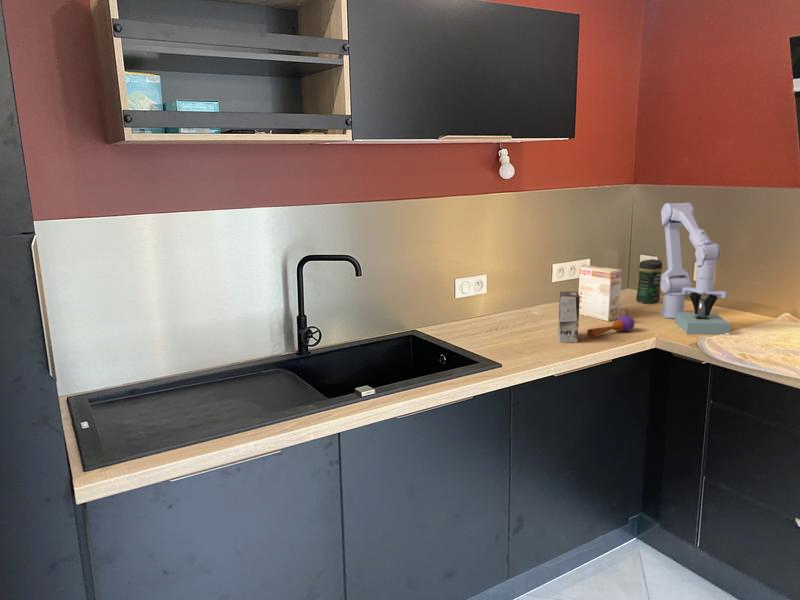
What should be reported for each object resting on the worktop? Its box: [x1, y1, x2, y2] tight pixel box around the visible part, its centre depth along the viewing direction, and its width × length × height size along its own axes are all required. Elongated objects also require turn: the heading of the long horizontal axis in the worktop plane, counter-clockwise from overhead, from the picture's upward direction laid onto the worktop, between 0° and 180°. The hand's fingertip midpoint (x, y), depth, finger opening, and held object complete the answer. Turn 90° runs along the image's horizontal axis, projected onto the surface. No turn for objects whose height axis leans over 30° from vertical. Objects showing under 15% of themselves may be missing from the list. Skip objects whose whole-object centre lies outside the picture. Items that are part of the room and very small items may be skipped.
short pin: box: [619, 308, 630, 318], centre depth 238 cm, size 3×3×5 cm
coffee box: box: [557, 291, 580, 343], centre depth 217 cm, size 9×6×16 cm
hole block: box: [674, 311, 731, 336], centre depth 228 cm, size 16×14×4 cm
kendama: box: [586, 315, 635, 339], centre depth 224 cm, size 6×6×20 cm
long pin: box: [697, 297, 707, 319], centre depth 227 cm, size 3×3×9 cm
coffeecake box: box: [578, 265, 623, 322], centre depth 246 cm, size 15×7×20 cm, turn 34°
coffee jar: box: [635, 258, 663, 304], centre depth 269 cm, size 10×8×19 cm
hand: (702, 314), depth 227 cm, fingers closed on long pin, 3 cm apart
